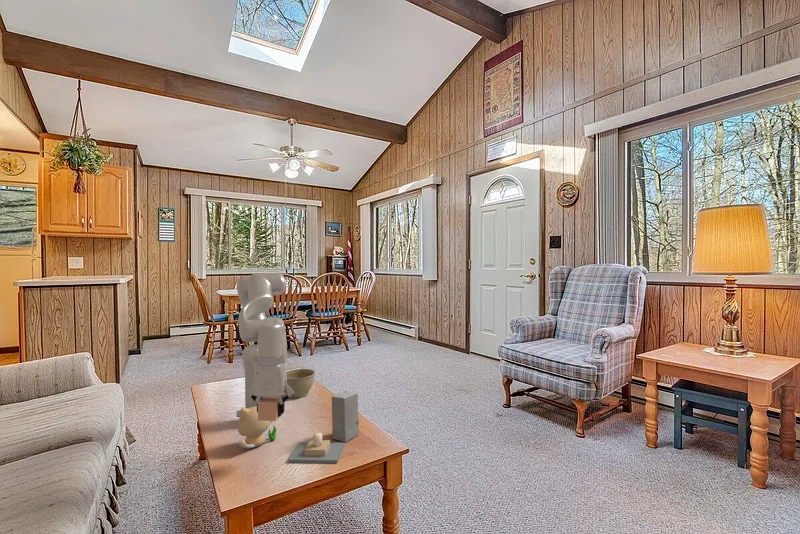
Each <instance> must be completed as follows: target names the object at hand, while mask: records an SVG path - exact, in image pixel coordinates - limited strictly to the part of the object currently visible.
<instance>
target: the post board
mask: <svg viewBox="0 0 800 534" xmlns="http://www.w3.org/2000/svg"><path fill="white" fill-rule="evenodd" d="M312 434H313V435H312V439H310V440H309V441H307V442H306V441H300V442H299V443H298V444H297V446H296V447H295V449H294V450H293V452H292V454H291V455H290V457H289V458H288V463H292V464H293V463H295V464H296V463H299V464H303V463H305V464H338V462H339V460H340V458H341V455H342V453H343V450H344V448H345V445H346V443H345V442H331V439H323V433H322V432H315V433H312Z"/></svg>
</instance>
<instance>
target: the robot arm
mask: <svg viewBox="0 0 800 534" xmlns="http://www.w3.org/2000/svg"><path fill="white" fill-rule="evenodd" d="M286 282H287V281H286V279H285V276H284V275H283V274H282V273H281V272H257V273H253V274H251V275H248V276H243V277H240V278H238V280H237V282H236V291H237V296H238V300H239V301H240V303H241V304H242V305H241V306H242V308H241V310H240V311H239V315H238V331H239V337H240V339H241V341H243V342H244V343H256V342H257V343H256V344H251V345H248V346H246V347H245V348H244V349H243V350H242V354H241V358H242V364H243V370H244V394H245V395H244V405H245V407H244V408H247V409H248V408H250V407H254V406H257V412H258V401H259V400H261V399H262V398H263V397H277V398H278V401H279V404H278V417H279V418H281V417H282V415H283V414H284V413H285V403H286V401H287V400H288V399H289V398H291V397H290V396H291V395H292V394H293V393H294V391H293V390H292V389H291V387H290V386H289V385H288V384H287V378H286V367H285V364H286V362H287V360H288V349H287V348H288V347H287V337H286V336H287V334H286V326H285V322H284V320H283V318H281V317H278V316H277V317H275V316H272V317H267V315H266V312H267V311H269V310H270V309H271V308H272V307H273V306H274V296H280V295H283V293H285V291H286V287H287V284H286ZM286 391H287V392H288V393H287V392H286ZM285 393H286V395H285ZM240 412H241V409H240V410H239V409H237V410H236V415H235V416H236V418H240ZM272 422H273V421H270V424H271V423H272Z"/></svg>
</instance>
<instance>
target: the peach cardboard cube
mask: <svg viewBox="0 0 800 534" xmlns="http://www.w3.org/2000/svg"><path fill="white" fill-rule="evenodd" d="M278 404H279V401H278V398H277V397H263V398H262V399H261V400H259V401H258V421H272V422H275V421H276V422H277V421H278V419H280V417H278Z"/></svg>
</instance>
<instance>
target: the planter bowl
mask: <svg viewBox="0 0 800 534" xmlns="http://www.w3.org/2000/svg"><path fill="white" fill-rule="evenodd" d="M315 373H316V372H315V370H312V369H309V368H296V369H291V370H287V371H286V378H287V384H288V385H289V386H290V387H291V389H292V390H293V391H294V393H293V394H292V395H291V396H290V397H289V398H290V399H291V398H292V399H301V398H304V397H307V396H308V395H309V392H310V391H311V390H312V387H313V385H314V381H315V375H316V374H315ZM285 393H286V394H288V392H287V391H286V392H285Z"/></svg>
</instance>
